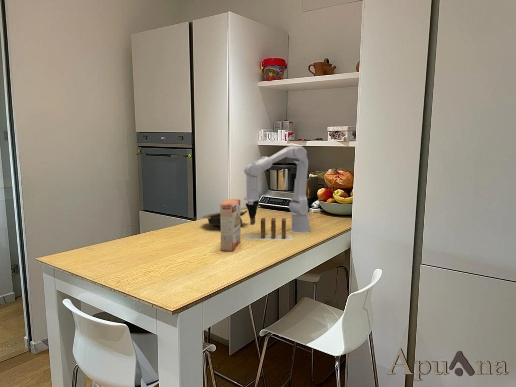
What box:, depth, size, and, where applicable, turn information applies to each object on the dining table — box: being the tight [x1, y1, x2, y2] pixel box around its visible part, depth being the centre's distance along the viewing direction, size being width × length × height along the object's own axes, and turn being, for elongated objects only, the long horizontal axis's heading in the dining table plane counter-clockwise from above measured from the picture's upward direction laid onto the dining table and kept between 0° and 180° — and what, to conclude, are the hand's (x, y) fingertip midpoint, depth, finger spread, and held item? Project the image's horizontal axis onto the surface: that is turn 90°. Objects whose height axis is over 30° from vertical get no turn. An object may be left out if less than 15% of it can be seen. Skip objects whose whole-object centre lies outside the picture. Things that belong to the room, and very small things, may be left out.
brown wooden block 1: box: [249, 216, 256, 226], centre depth 190 cm, size 2×5×9 cm, turn 174°
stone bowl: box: [201, 210, 248, 227], centre depth 216 cm, size 25×25×9 cm
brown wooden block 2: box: [260, 217, 266, 239], centre depth 190 cm, size 2×5×9 cm, turn 174°
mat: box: [243, 234, 293, 241], centre depth 190 cm, size 23×9×1 cm, turn 84°
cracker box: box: [219, 198, 241, 252], centre depth 175 cm, size 14×6×21 cm, turn 168°
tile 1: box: [281, 217, 287, 239], centre depth 189 cm, size 2×5×9 cm, turn 174°
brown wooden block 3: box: [270, 217, 277, 239], centre depth 189 cm, size 2×5×9 cm, turn 174°
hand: (252, 216), depth 190 cm, fingers closed on brown wooden block 1, 5 cm apart
